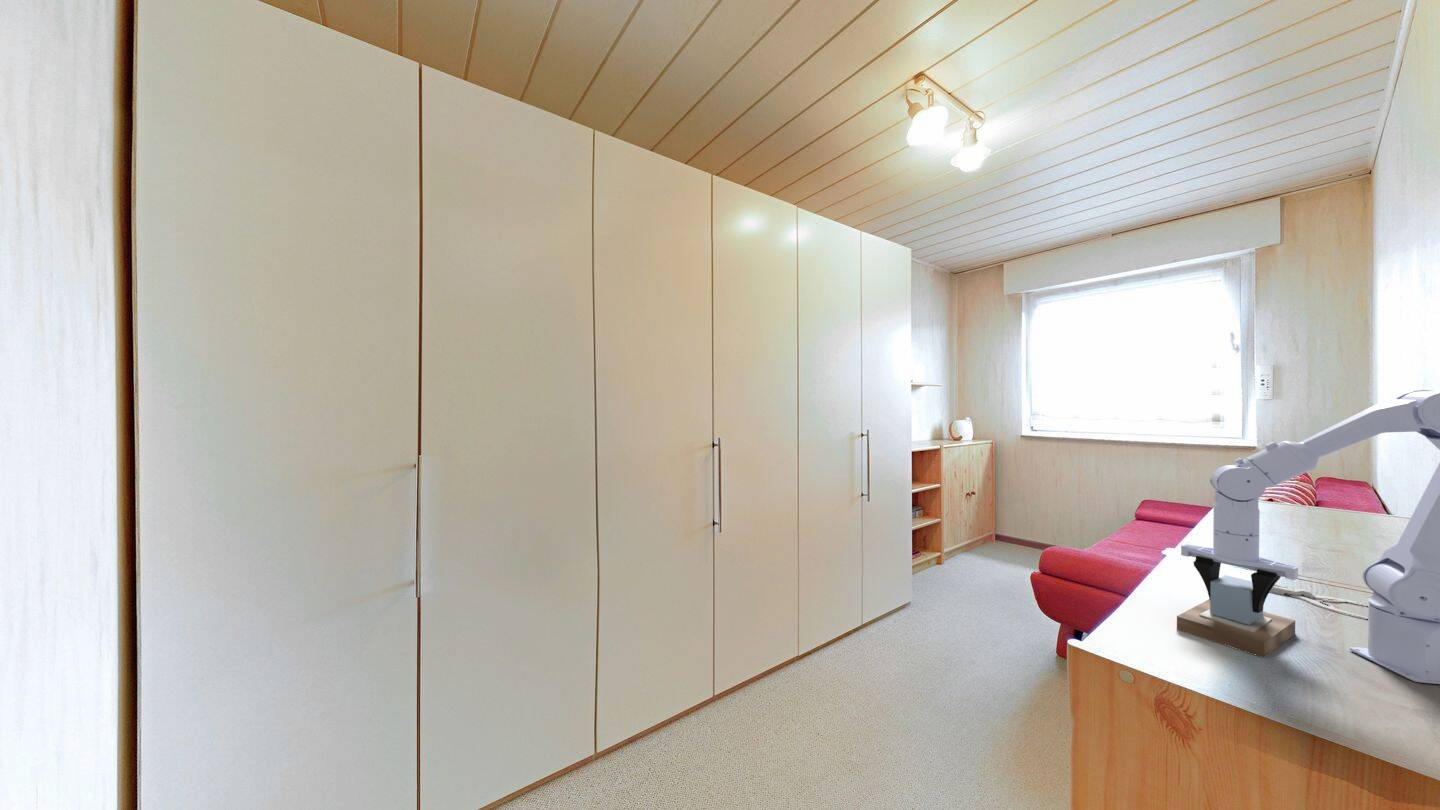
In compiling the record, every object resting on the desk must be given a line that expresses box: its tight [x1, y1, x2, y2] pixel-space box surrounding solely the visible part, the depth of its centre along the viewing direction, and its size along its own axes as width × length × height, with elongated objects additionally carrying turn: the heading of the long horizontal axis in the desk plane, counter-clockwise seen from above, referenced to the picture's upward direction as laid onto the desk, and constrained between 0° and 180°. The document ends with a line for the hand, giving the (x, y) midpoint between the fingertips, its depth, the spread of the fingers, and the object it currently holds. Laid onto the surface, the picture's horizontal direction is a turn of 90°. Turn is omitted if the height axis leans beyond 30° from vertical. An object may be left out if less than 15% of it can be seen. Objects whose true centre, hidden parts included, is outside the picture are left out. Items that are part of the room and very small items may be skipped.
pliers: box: [1269, 583, 1368, 618], centre depth 100 cm, size 10×2×15 cm
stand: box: [1176, 599, 1296, 658], centre depth 88 cm, size 16×11×3 cm
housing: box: [1210, 574, 1264, 625], centre depth 88 cm, size 8×5×6 cm, turn 118°
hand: (1235, 605), depth 88 cm, fingers closed on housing, 5 cm apart
